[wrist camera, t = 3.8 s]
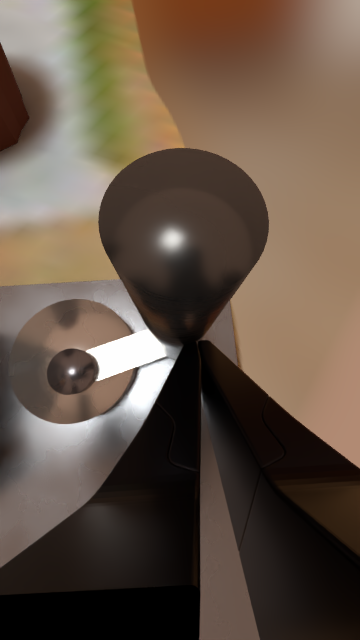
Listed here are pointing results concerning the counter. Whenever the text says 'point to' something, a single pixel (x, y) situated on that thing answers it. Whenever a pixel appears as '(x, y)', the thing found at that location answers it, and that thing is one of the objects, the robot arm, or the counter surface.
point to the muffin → (10, 106)
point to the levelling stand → (108, 455)
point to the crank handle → (145, 282)
